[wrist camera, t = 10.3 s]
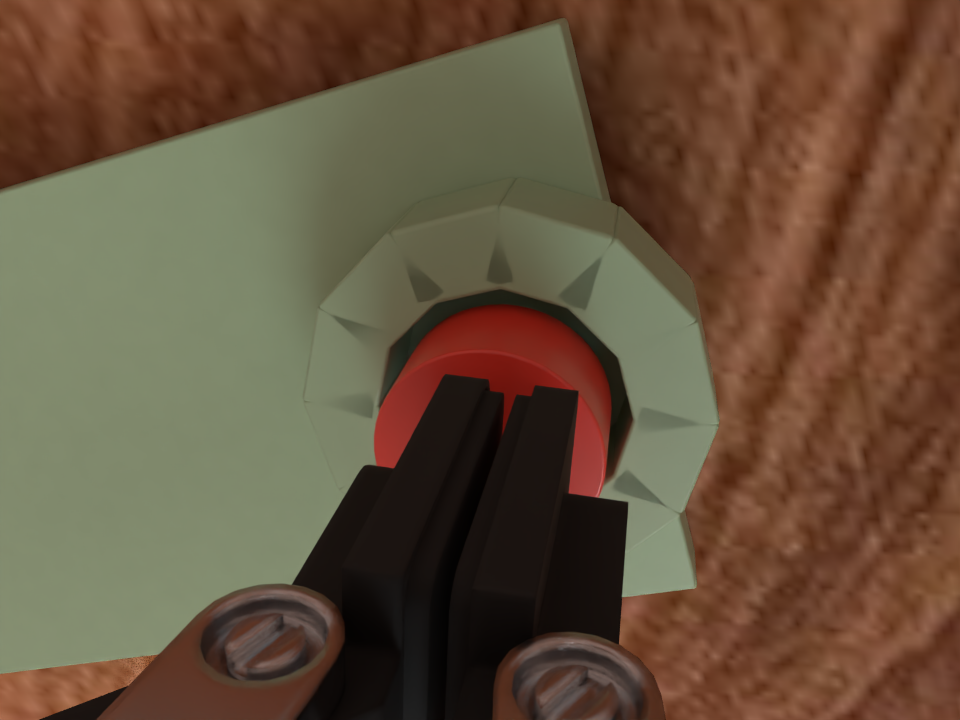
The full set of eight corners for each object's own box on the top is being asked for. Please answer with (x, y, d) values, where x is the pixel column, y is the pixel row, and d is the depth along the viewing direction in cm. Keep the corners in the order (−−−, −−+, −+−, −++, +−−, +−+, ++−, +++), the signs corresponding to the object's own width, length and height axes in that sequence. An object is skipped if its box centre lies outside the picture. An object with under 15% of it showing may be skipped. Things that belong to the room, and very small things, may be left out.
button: (583, 282, 13) (573, 327, 11) (633, 474, 14) (630, 540, 12) (376, 327, 13) (340, 375, 12) (439, 504, 15) (413, 570, 13)
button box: (634, -5, 13) (630, 4, 11) (750, 542, 17) (769, 652, 14) (-203, 250, 18) (-353, 302, 15) (24, 640, 21) (-66, 737, 19)
